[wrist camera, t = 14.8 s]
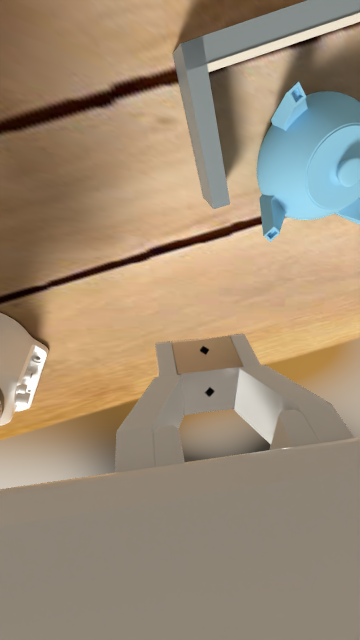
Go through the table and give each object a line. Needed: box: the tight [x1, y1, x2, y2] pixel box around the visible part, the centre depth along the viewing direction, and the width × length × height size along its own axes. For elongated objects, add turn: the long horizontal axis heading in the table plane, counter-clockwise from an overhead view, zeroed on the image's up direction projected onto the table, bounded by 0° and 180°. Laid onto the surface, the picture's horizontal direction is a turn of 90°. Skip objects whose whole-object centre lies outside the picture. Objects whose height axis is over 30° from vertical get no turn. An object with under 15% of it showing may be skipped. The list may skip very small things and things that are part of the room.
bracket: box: [173, 0, 360, 209], centre depth 33 cm, size 15×28×6 cm, turn 105°
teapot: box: [257, 82, 360, 242], centre depth 36 cm, size 15×15×11 cm
